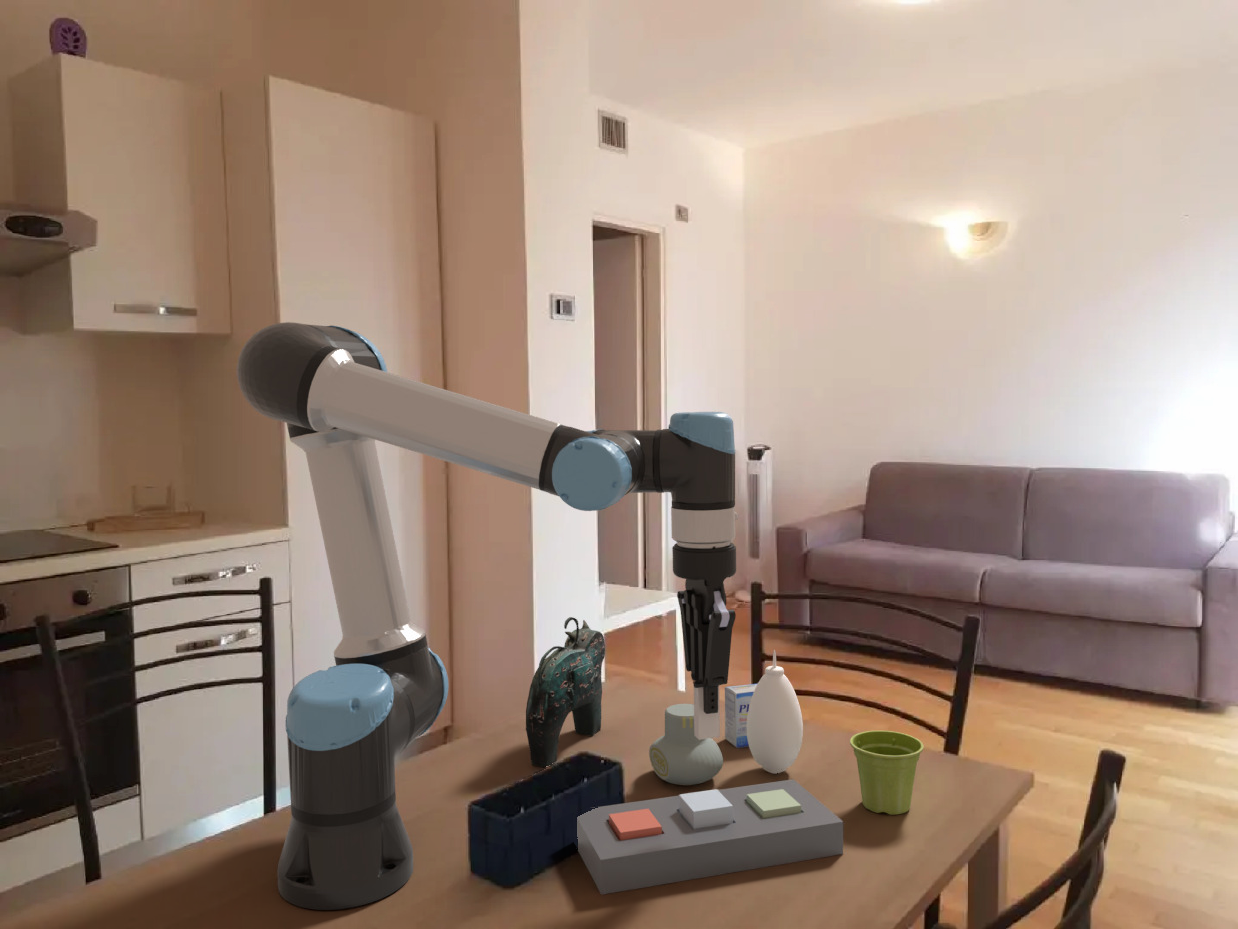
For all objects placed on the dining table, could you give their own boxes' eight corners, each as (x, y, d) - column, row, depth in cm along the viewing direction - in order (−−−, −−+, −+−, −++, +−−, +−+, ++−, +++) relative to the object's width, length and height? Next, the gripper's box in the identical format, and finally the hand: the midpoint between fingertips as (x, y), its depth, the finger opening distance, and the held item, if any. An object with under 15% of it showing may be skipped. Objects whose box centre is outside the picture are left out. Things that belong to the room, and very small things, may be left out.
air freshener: (729, 787, 136) (729, 718, 135) (675, 797, 133) (675, 726, 132) (694, 759, 146) (694, 694, 145) (644, 768, 143) (643, 702, 142)
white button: (693, 836, 115) (693, 811, 115) (679, 818, 120) (679, 794, 119) (733, 830, 116) (732, 806, 116) (717, 812, 121) (717, 789, 121)
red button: (621, 857, 112) (620, 832, 112) (609, 838, 117) (608, 814, 117) (661, 851, 114) (661, 826, 114) (648, 832, 119) (648, 808, 118)
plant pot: (834, 800, 131) (835, 737, 130) (887, 785, 135) (888, 725, 135) (883, 827, 123) (884, 761, 122) (938, 811, 127) (939, 747, 126)
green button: (763, 835, 117) (763, 811, 117) (746, 817, 122) (746, 794, 122) (801, 829, 119) (801, 805, 119) (782, 812, 124) (782, 789, 123)
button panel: (601, 894, 108) (600, 860, 107) (573, 842, 120) (572, 810, 120) (843, 854, 116) (843, 821, 116) (793, 808, 129) (793, 779, 128)
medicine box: (735, 749, 150) (735, 694, 149) (724, 739, 154) (724, 685, 153) (782, 743, 152) (782, 689, 151) (769, 733, 156) (769, 680, 155)
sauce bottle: (736, 770, 141) (735, 649, 140) (772, 756, 146) (771, 639, 145) (777, 787, 135) (777, 661, 134) (813, 772, 140) (813, 650, 139)
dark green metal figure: (581, 723, 162) (579, 605, 160) (616, 728, 159) (614, 608, 158) (518, 766, 144) (515, 633, 143) (556, 773, 141) (554, 638, 140)
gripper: (756, 548, 110) (758, 751, 112) (712, 532, 122) (715, 715, 124) (693, 553, 108) (697, 760, 110) (656, 536, 120) (660, 722, 122)
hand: (707, 736), depth 117 cm, fingers closed
